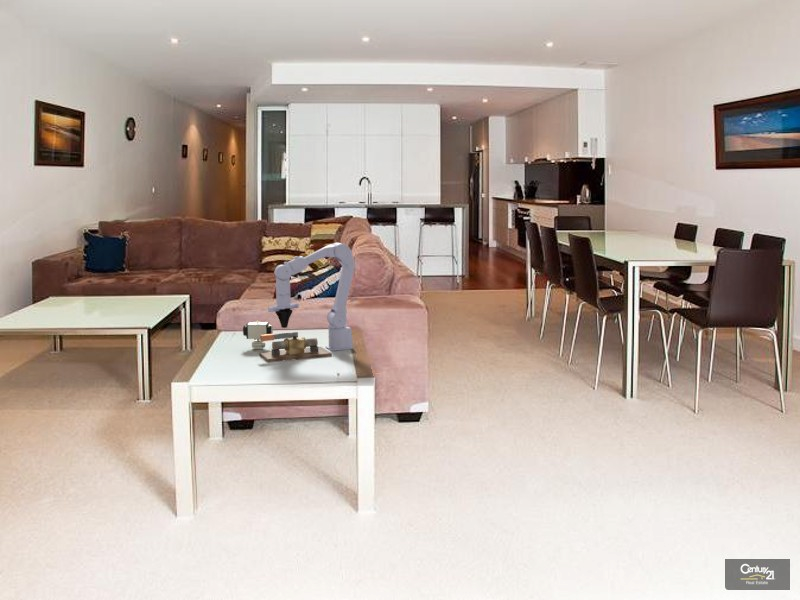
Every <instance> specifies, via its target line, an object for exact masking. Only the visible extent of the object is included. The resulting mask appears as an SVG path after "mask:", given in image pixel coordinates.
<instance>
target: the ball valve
mask: <svg viewBox="0 0 800 600" xmlns="http://www.w3.org/2000/svg"><path fill="white" fill-rule="evenodd" d="M318 343H319V342H318V339H317V337H313V338H305V337H300V336H298V337H297V338H284V339H283V340H278V341H272V342H271V347H272V348H271V351H259V352H258V355H259V356H260V357H261V358H262V359H263V360H265V361H266V362H267V363H274V361H275V362H284V361H283V360H285V361H293V360H292V359H296V360H302V359H303V360H305V359H306V360H307V359H315V358H316V359H317V358H324V357H325V358H327V357H332V356H333V355H332V354H333V353H332V352H330V350H328V349H325V348H324V347H322V346H318V345H319V344H318Z"/></svg>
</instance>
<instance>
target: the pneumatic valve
mask: <svg viewBox="0 0 800 600" xmlns="http://www.w3.org/2000/svg"><path fill="white" fill-rule="evenodd" d="M264 334H274V328H273V325H271V324H270V321H265V322H263V321H262V322H261V321H260V320H256V321H253V322H251V321H249V322H247V323H246V324H245V325H243V328H242V335H243V336H244V337H246V340H253V341H252V342H251V348H252V349H253V350H263V349H264V348H266V341H260V335H264Z"/></svg>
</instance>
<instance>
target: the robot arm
mask: <svg viewBox="0 0 800 600" xmlns="http://www.w3.org/2000/svg"><path fill="white" fill-rule="evenodd" d="M324 258H335V259H336V260H337V261H338V262H339V264H340V266H341V272H340V275H339V276H340V277H339V280H338V284H337V289H336V293H335V297H334V301H333V305H332V306H331V308H330V311H329V312H328V314H327V316H326V319H327V322H328V323H329V325H328V345H326V346H325V348H327V350H329V351H342V350H351V349H353V348H354V347H353V332H352V328H351V327H350V326H346V325H347V322H348V319H347V313H348V312H347V304H348V299H349V295H350V291H351V286H352V283H353V282H352V281H353V277H354V272H355V268H356V262H355V259H354V257H353V251H352V249H351V248H350V247H349V245H347V244H345V243H340V242H338V241H337V242H334V243H331V244H328V245H326V246H324V247H321V248H320V249H317V250H316V251H314V252H312V253H310V254H308V255H306V256H305V257H304V256H301V255H299V256H298V255H296V256H294V258H293V259H291V260H289V261H284V262H283V264H278V265H277V266H276V267H275V269H274V271H273V273H274V275H275V294H276V295H275V296H276V297H275V298H276V304H275V305H272V306H268V308H267V309H268V311H267V312H268V313H273V312H274V313H275V314H276V316H277V318H278V320H279V324H280V327H281V328H282V329H286V328H288V326H289V322H290V318H291V316H292V314H293V309H299V308H300V307H299V305H300V303H299V302H292V303H291V297H292V296H291V282H290V278H291V276H294V275H296V274H298V273H300V272H302V271H305V270H306V269H307V268H308V266H309V265H310V264H312V263H314V262H316V261H319V260H321V259H324Z"/></svg>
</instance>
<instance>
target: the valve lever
mask: <svg viewBox="0 0 800 600" xmlns="http://www.w3.org/2000/svg"><path fill="white" fill-rule="evenodd" d="M297 337H299V332H298V331H291V332H284V333H283V332H281V333H273V334H264V335H260V341H263V342H269V341H270V342H271V341H275V340H284V339H286V338H297Z"/></svg>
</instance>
